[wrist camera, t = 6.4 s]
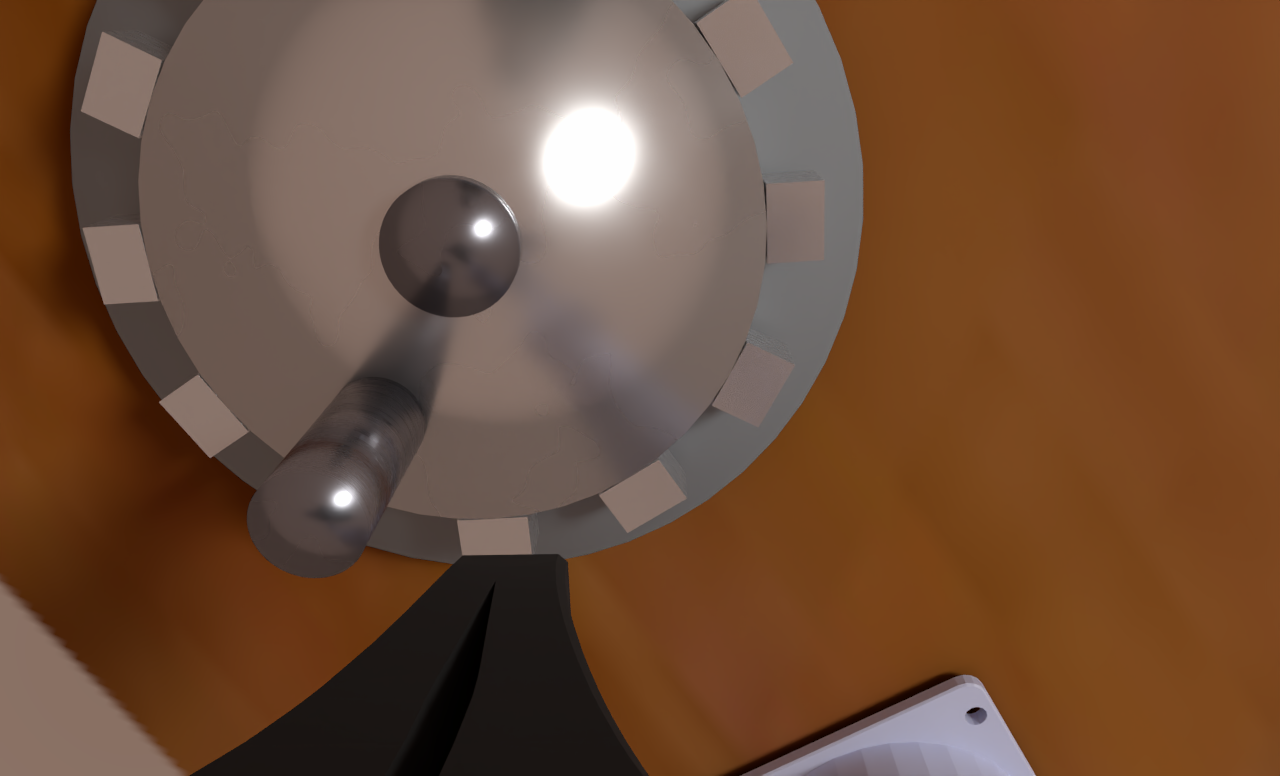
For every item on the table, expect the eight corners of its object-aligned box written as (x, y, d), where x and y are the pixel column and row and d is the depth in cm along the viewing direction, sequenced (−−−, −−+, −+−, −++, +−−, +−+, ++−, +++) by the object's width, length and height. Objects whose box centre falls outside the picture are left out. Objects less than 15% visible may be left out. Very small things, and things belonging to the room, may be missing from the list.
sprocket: (625, 621, 21) (619, 801, 16) (42, 376, 19) (-168, 496, 14) (948, 64, 17) (1072, 81, 12) (239, -328, 15) (37, -503, 10)
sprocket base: (975, 337, 20) (995, 355, 19) (400, 644, 23) (387, 676, 22) (594, -420, 15) (589, -456, 14) (-66, 85, 18) (-112, 89, 17)
